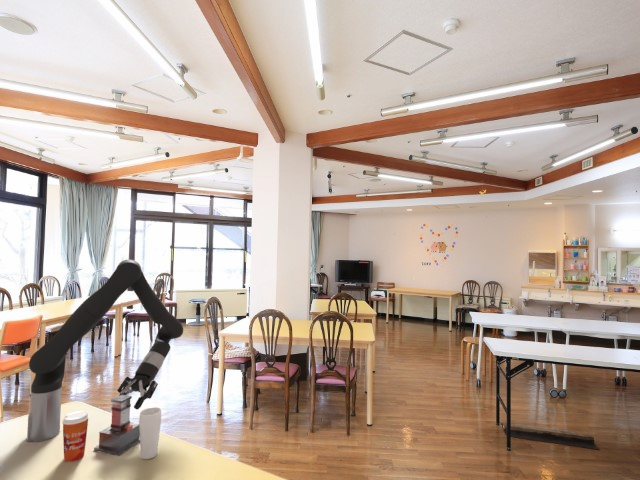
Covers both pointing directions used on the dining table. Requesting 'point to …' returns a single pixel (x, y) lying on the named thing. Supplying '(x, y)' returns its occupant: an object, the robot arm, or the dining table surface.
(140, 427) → the drinking glass
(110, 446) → the sleeve
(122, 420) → the column
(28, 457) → the dining table surface
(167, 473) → the dining table surface
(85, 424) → the paper cup
